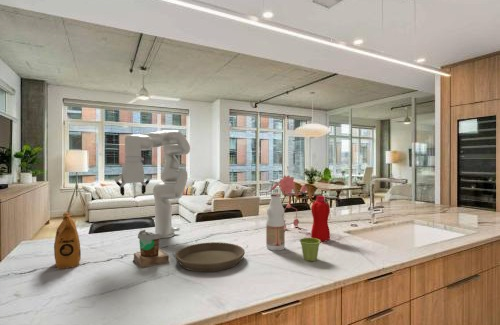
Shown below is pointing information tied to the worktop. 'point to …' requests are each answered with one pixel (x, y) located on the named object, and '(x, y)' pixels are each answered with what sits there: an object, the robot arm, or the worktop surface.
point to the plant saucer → (210, 256)
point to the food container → (149, 244)
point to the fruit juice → (275, 224)
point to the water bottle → (320, 219)
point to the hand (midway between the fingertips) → (133, 194)
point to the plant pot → (310, 248)
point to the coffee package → (67, 244)
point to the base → (151, 259)
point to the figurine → (287, 186)
